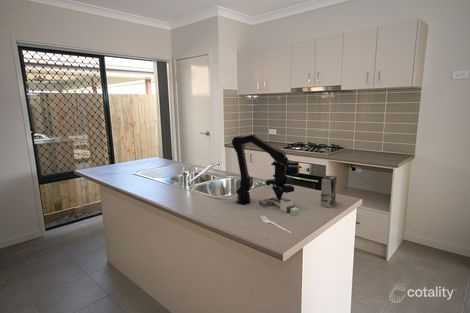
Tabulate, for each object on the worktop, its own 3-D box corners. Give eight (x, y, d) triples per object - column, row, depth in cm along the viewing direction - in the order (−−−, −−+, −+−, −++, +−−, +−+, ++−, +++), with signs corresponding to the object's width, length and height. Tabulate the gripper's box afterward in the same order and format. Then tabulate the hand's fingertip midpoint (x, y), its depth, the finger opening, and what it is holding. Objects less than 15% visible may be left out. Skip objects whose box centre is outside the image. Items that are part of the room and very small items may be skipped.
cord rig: (259, 204, 165) (259, 199, 164) (280, 199, 172) (280, 194, 172) (284, 218, 145) (284, 212, 144) (307, 212, 152) (308, 206, 152)
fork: (288, 235, 128) (288, 231, 128) (259, 219, 144) (259, 216, 144) (293, 233, 130) (293, 229, 130) (264, 218, 146) (264, 214, 145)
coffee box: (331, 208, 158) (333, 180, 155) (320, 205, 161) (321, 178, 158) (335, 203, 165) (337, 176, 162) (324, 201, 169) (325, 174, 166)
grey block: (280, 209, 156) (280, 199, 155) (287, 207, 159) (287, 198, 158) (286, 212, 152) (286, 202, 151) (293, 210, 154) (293, 201, 153)
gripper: (302, 175, 153) (301, 202, 156) (280, 168, 169) (280, 193, 172) (286, 177, 148) (285, 206, 151) (265, 170, 164) (265, 196, 167)
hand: (279, 200), depth 160 cm, fingers closed
